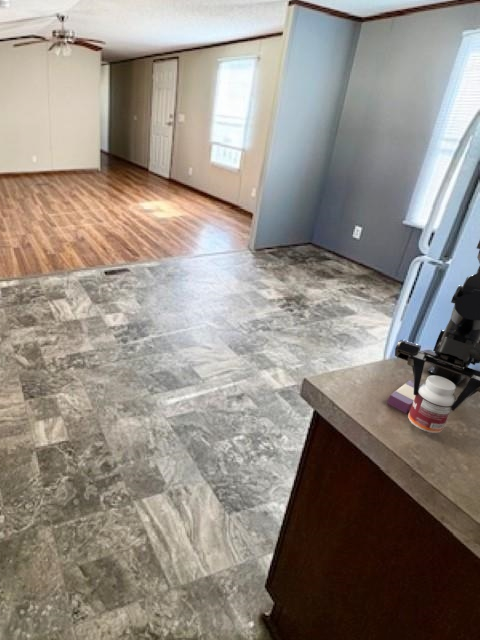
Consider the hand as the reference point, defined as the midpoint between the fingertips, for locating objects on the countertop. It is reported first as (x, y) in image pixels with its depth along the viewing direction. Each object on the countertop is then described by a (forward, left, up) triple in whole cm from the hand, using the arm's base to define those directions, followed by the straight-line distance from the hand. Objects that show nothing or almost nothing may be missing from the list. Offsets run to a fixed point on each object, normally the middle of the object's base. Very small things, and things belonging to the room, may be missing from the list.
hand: (433, 402), depth 87 cm
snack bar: (-8, -6, -8) cm, 13 cm away
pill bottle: (-1, 0, -7) cm, 7 cm away
